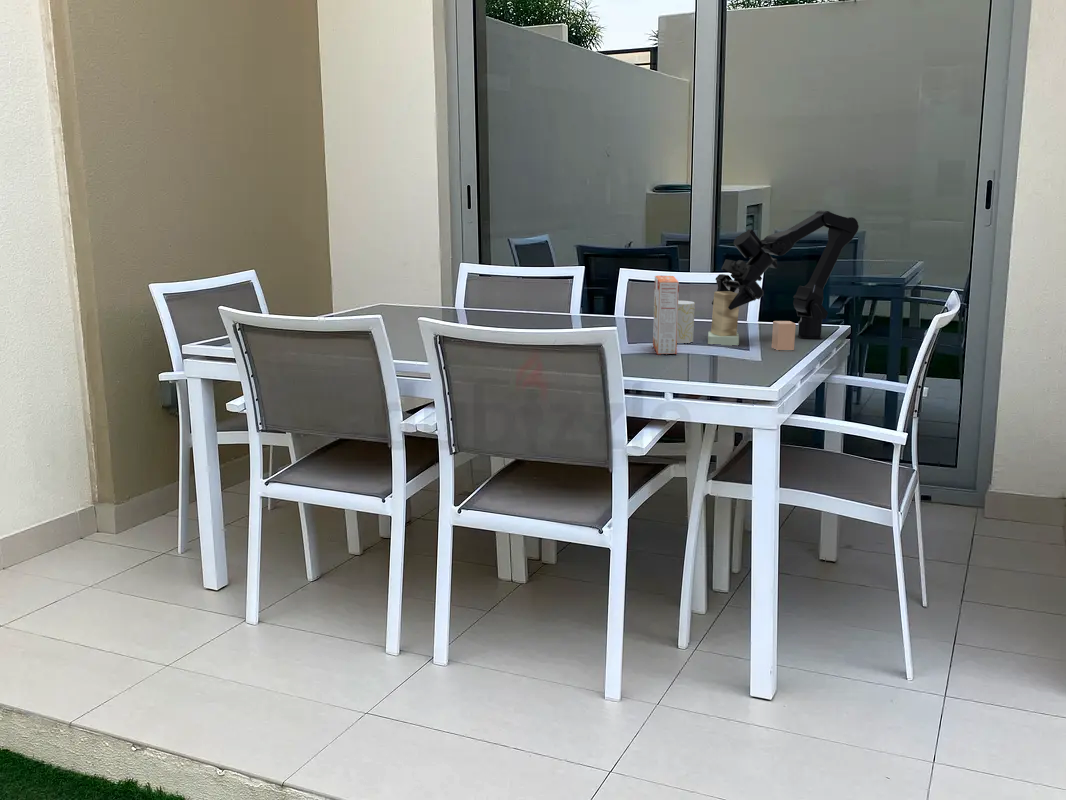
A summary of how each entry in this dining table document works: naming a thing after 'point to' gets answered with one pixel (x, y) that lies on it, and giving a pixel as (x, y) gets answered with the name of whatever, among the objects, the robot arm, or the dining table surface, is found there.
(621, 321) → the dining table surface
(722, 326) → the oak block
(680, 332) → the cup
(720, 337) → the sage slab
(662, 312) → the cracker box
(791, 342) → the terracotta block
